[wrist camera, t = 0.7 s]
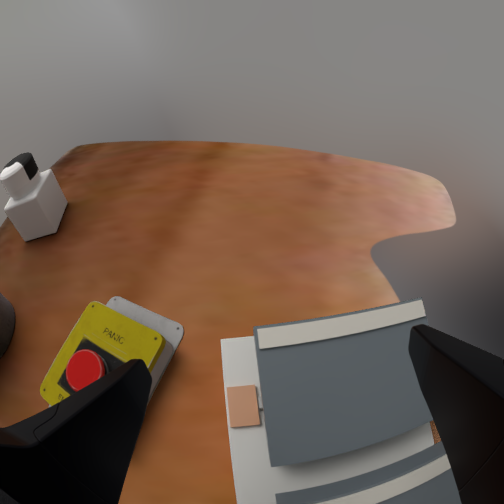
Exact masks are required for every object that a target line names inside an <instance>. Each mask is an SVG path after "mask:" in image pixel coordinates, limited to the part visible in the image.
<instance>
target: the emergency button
mask: <svg viewBox="0 0 504 504" xmlns="http://www.w3.org/2000/svg"><path fill="white" fill-rule="evenodd" d="M183 333H184V330H183V327H182V326H181V325H180V324H179V323H177V322H175V321H173V320H170V319H168V318H166V317H163V316H161V315H159V314H156V313H154V312H152V311H150V310H147V309H145V308H143V307H141V306H139V305H136V304H134V303H132V302H130V301H128V300H126V299H124V298H122V297H118V296H115V297H113V298H111V299H110V300H109V301H108V303H107V304H106V306H105V305H103V304H102V303H100V302H97V301H93V302H91V303H90V304H89V305H88V306H87V308H86V309H85V311H84V312H83V314H82V315H81V317H80V318H79V320H78V321H77V323H76V325H75V326H74V328H73V329H72V331H71V333H70V334H69V336H68V338H67V339H66V341H65V343H64V344H63V346H62V348H61V350H60V351H59V353H58V355H57V356H56V358H55V360H54V362H53V364H52V365H51V367H50V369H49V371H48V373H47V375H46V377H45V378H44V380H43V382H42V384H41V387H40V393H41V395H42V397H43V398H44V399H45V400H46V401H47V402H48V403H49V407H51V406H53V405H55V404H56V403H58V402H60V401H62V400H63V399H65V398H67V397H69V396H70V395H72V394H74V393H75V392H77V391H79V390H81V389H82V388H84V387H86V386H87V385H89V384H91V383H92V382H94V381H96V380H98V379H99V378H101V377H103V376H104V375H106V374H108V373H109V372H111V371H113V370H114V369H116V368H118V367H119V366H121V365H123V364H124V363H126V362H127V361H129V360H131V359H142V360H143V361H144V362H145V364H146V366H147V368H148V370H149V372H150V374H151V376H152V385H151V390H150V394H149V399H148V403H149V401H150V399H151V397H152V395H153V393H154V391H155V389H156V387H157V385H158V383H159V381H160V379H161V377H162V375H163V373H164V372H165V370H166V368H167V366H168V364H169V362H170V360H171V358H172V356H173V354H174V352H175V350H176V349H177V347H178V345H179V343H180V341H181V339H182V337H183ZM148 403H147V405H148Z"/></svg>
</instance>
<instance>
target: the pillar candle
mask: <svg viewBox="0 0 504 504" xmlns="http://www.w3.org/2000/svg"><path fill="white" fill-rule="evenodd" d="M14 325H15V312H14V309H13V306H12V305H11V303H10V302H9V301H8V300H7V299H6V298H5V297H4V296H3V295H2V294H1V293H0V357H1V356H2V355H3V354H4V353H5V351H6V349H7V347H8V345H9V343H10V340H11V338H12V335H13V331H14Z"/></svg>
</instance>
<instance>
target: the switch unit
mask: <svg viewBox="0 0 504 504" xmlns="http://www.w3.org/2000/svg"><path fill="white" fill-rule="evenodd" d="M221 351H222V364H223V377H224V389H225V400H226V411H227V421H228V431H229V441H230V450H231V459H232V467H233V475H234V483H235V491H236V498H237V504H276V498H275V494H276V493H284V492H290V491H296V490H301V489H307V488H312V487H316V486H321V485H325V484H329V483H333V482H337V481H341V480H345V479H348V478H351V477H355V476H358V475H361V474H364V473H367V472H370V471H373V470H376V469H379V468H382V467H384V466H387V465H390V464H392V463H395V462H397V461H400V460H402V459H404V458H407V457H409V456H411V455H413V454H416V453H418V452H420V451H422V450H424V449H426V448H428V447H430V446H432V445H434V440H433V435H432V431H431V426H430V422H428V423H426V424H423V425H421V426H419V427H417V428H414V429H412V430H410V431H407V432H405V433H402V434H400V435H397V436H395V437H392V438H389V439H387V440H384V441H381V442H378V443H375V444H372V445H369V446H366V447H363V448H360V449H356V450H353V451H349V452H346V453H342V454H338V455H334V456H330V457H326V458H322V459H317V460H312V461H307V462H302V463H297V464H291V465H285V466H278V467H271V465H270V460H269V453H268V446H267V438H266V430H265V422H264V414H263V406H262V399H261V391H260V383H259V374H258V366H257V358H256V350H255V342H254V336H249V337H240V338H229V339H221Z"/></svg>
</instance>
